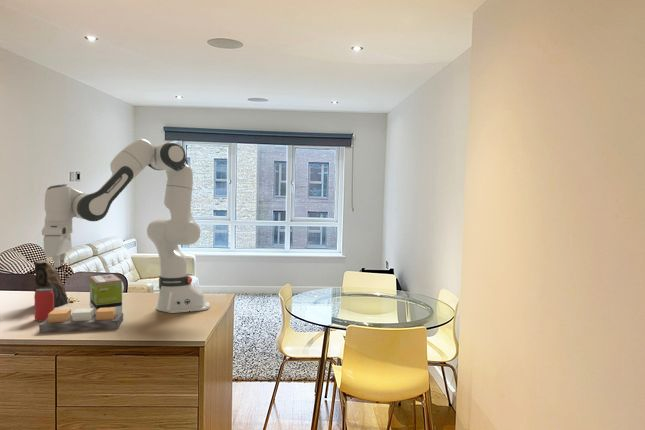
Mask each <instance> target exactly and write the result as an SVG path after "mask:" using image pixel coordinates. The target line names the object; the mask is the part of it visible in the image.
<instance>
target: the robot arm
mask: <svg viewBox="0 0 645 430" xmlns="http://www.w3.org/2000/svg"><path fill="white" fill-rule="evenodd" d="M187 163H188V161H187V155H186V151H185V147H183V145H181V144H180V143H178V142H175V141H168V142H163V143H160V144H157V145H153V144H152V143H151V142H150V141H148V139H147V140H146V139H144V138H138V139H136V140H134V141H132V142H131V143H129V144H128V145H127V146H125V147H123V149H122V150H121V151H119V152H118V153H117V154H116V155H115V157H113V159H112V161H110V165H109V167H110V168H109V169H110V171H111V173H112V174H111V176H110V177H109V178H108V179H107V180H106V182H104V184H103V185H102V186H101V187H100V188H99V189H97V191H95V192H92V193H84V192H82V191H80V190H77V189H75V188H73V187H72V186H71V185H69V184H67V183H66V184H64V183H63V184H56V185H50V186H49V187H47V189H46V190H45V193H44V194H45V195H44V212H45V216H44V217H45V218H44V226H43V227H42V230H41V236H43V238H42V239H43V249H44V250H43V251H44V255H45V257H47V258H52V261H53V266H54V267H55V268H59V267H61V266H63V265H64V264H65V259H66V253H67V252H69V251H71V250H72V233H73V218H77V219H80V220H86V221H89V222H98V221H100V220H102V219H104V218H105V217H106V216H107V214H108V212H109V210H110V208H111V205H112V203H113V202H114V200H115V199H116V198H117V197H118V196H119V195H120V194H121V193H122V192H124V191H123V190H125V189H126V188H127V187H128V185H129V184H130V182H132V180H134V178H136V177H137V176H138V175H139V174H140V173H141V172H143V170H144V169H145V168H146V167H149V168H151V169H152V170H155V171H165V173H166V177H167V178H166V179H167V180H166V187H165V193H164V194H165V195H164V201H163V204H164V206H165V207H166V209H168V210H169V213H170V218H159V219H154V220H151V221H150V222H149V223H148V225H147V227H146V234H147V237H148V239H149V240H150V241H151V242H152V243H153V245H154V246H155V249H156V251H157V254H158V258H159V274H160V275H159V277H158V289H159V293H158V300H157V305H156V308H155V309H156V310H157V311H160V312H163V313H164V312H165V313H168V314H175V313H176V314H177V313H187V312H189V311H190V312H197V311H206V310H208V309H210V306H211V305H210V302H209V301H206V300H205V295H204V292H203V291H202V290H201V289H200V288H198V287H196V286H195V285H194V284H193V283H192V282H193V278H192V277H191V275H187V274H188V273H187V271H188V270H187V269H188V267H187V266H188V265H187V263H188V261H187V257H186V256H185V255H184V254H183V253H182V251H181V249H180V246H189V245H194V244H196V243H197V242H198V241H199V239H200V237H201V228H200V226H199V224H198V223H197V222H196V221H195V219H194V216H193V215H192V207H191V205H192V204H191V203H192V194H193V184H194V182H193V181H194V178H193V177H194V175H193V169H192V167H191V166H190V165H188V164H187Z"/></svg>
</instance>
